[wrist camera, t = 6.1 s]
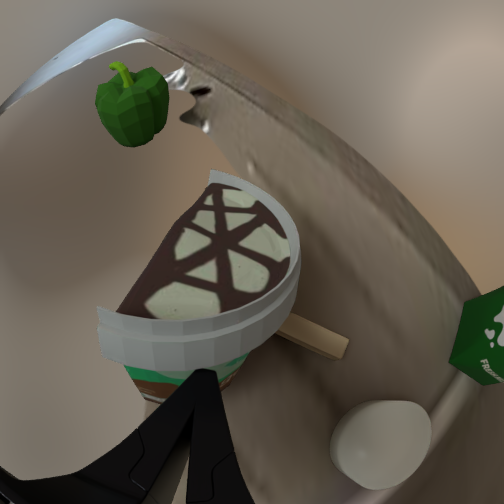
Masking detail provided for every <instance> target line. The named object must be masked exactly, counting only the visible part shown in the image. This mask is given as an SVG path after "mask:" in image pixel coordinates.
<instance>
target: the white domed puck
mask: <svg viewBox="0 0 504 504" xmlns="http://www.w3.org/2000/svg"><path fill="white" fill-rule="evenodd" d="M431 435H432V428H431V422H430V419H429V416H428V414H427V413H426V411H425V410H424V409H423V408H422V407H421V406H420V405H418V404H416V403H414V402H410V401H392V400H370V401H366V402H363V403H361V404H358V405H357V406H355V407H353V408H352V409H351V410H349V411H348V412H347V413H346V414H345V415H344V416H343V417H342V418H341V419H340V421H339V422H338V424H337V425H336V427H335V429H334V431H333V433H332V436H331V440H330V456H331V459H332V462H333V464H334V465H335V467H336V468H337V469H338V470H339V471H341V472H342V473H344V474H345V475H346V476H348V477H349V478H351V479H352V480H353V481H355V482H356V483H358V484H359V485H361V486H362V487H364V488H367V489H371V490H383V489H388V488H391V487H393V486H396V485H398V484H400V483H401V482H403V481H404V480H406V479H407V478H408V477H409V476H411V475H412V474H413V473H414V472H415V471H416V470H417V468H418V467H419V466H420V464H421V463H422V461H423V460H424V458H425V456H426V454H427V452H428V449H429V446H430V442H431Z"/></svg>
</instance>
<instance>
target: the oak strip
mask: <svg viewBox="0 0 504 504" xmlns="http://www.w3.org/2000/svg"><path fill="white" fill-rule="evenodd" d="M275 333H276V334H278V335H280V336H282V337H284V338H286V339H288V340H290V341H292V342H294V343H296V344H299V345H301V346H303V347H305V348H307V349H309V350H312V351H314V352H316V353H318V354H320V355H323V356H325V357H327V358H329V359H331V360H334V361H335V360H340V359H342V356H343V354H344V352H345V349H346V347H347V344H348V341H349V339H347V338H345V337H343V336H341V335H338V334H336V333H334V332H332V331H330V330H328V329H326V328H323V327H321V326H319V325H317V324H315V323H313V322H311V321H309V320H307V319H305V318H303V317H300V316H298V315H296V314H294V313H292V312H290V313H289V315H288V317H287V318H286V320H285V321H284V322H283V324H282V325H281V326H280V328H279V329H278V330H277V331H276V332H275Z"/></svg>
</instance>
